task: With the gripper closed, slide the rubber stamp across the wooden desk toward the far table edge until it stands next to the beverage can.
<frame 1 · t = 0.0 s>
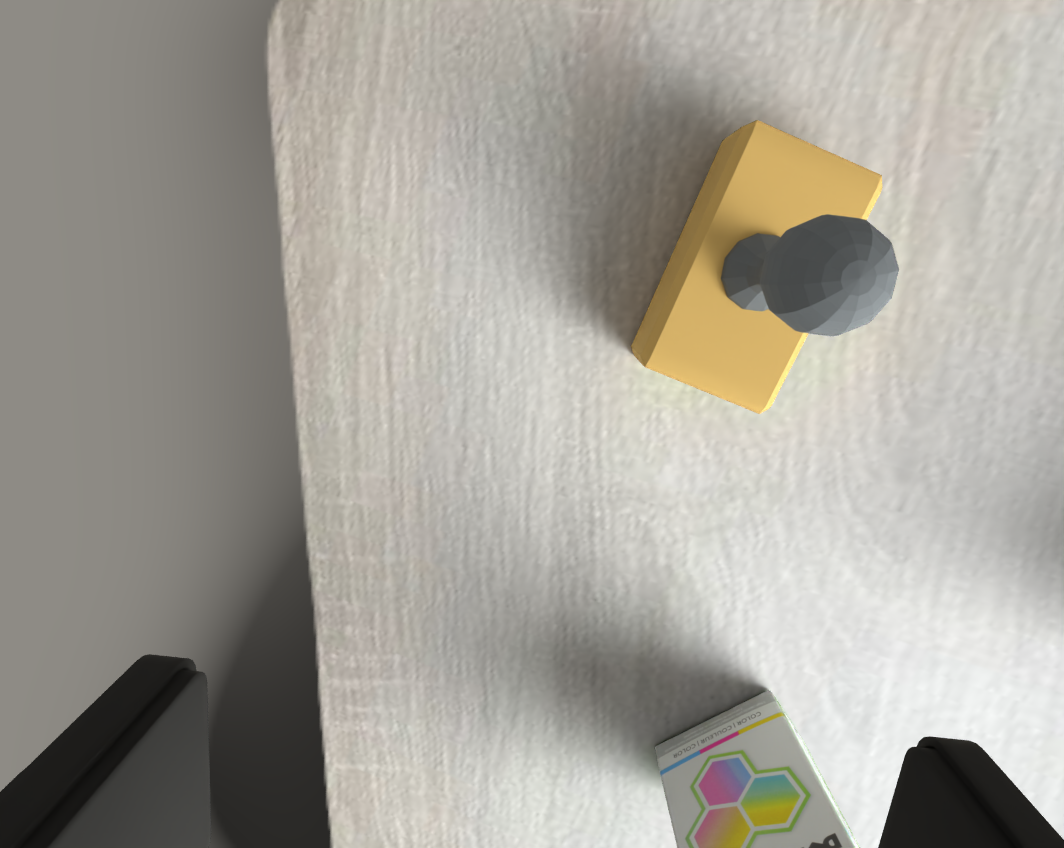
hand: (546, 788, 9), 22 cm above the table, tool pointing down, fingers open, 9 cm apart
rubber stamp: (732, 273, 29), on the table
ink box: (726, 738, 35), on the table
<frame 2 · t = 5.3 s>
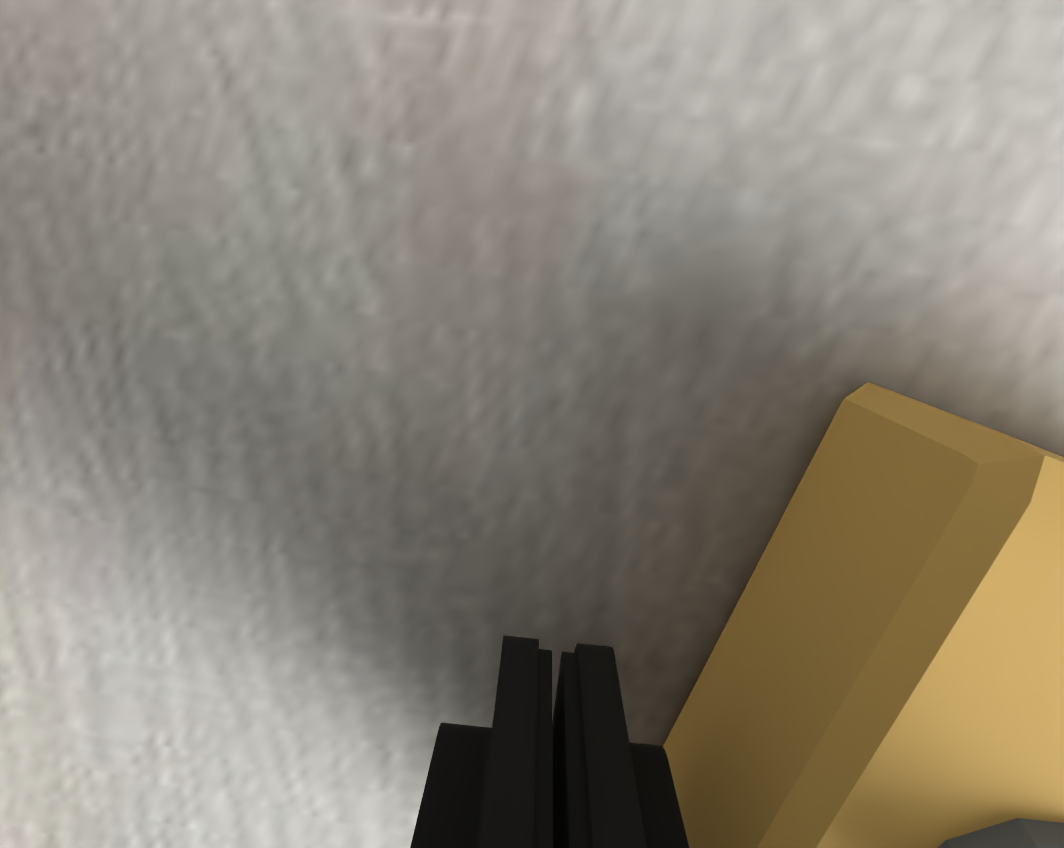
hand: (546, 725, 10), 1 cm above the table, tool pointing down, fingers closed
rubber stamp: (854, 698, 11), on the table, touching gripper
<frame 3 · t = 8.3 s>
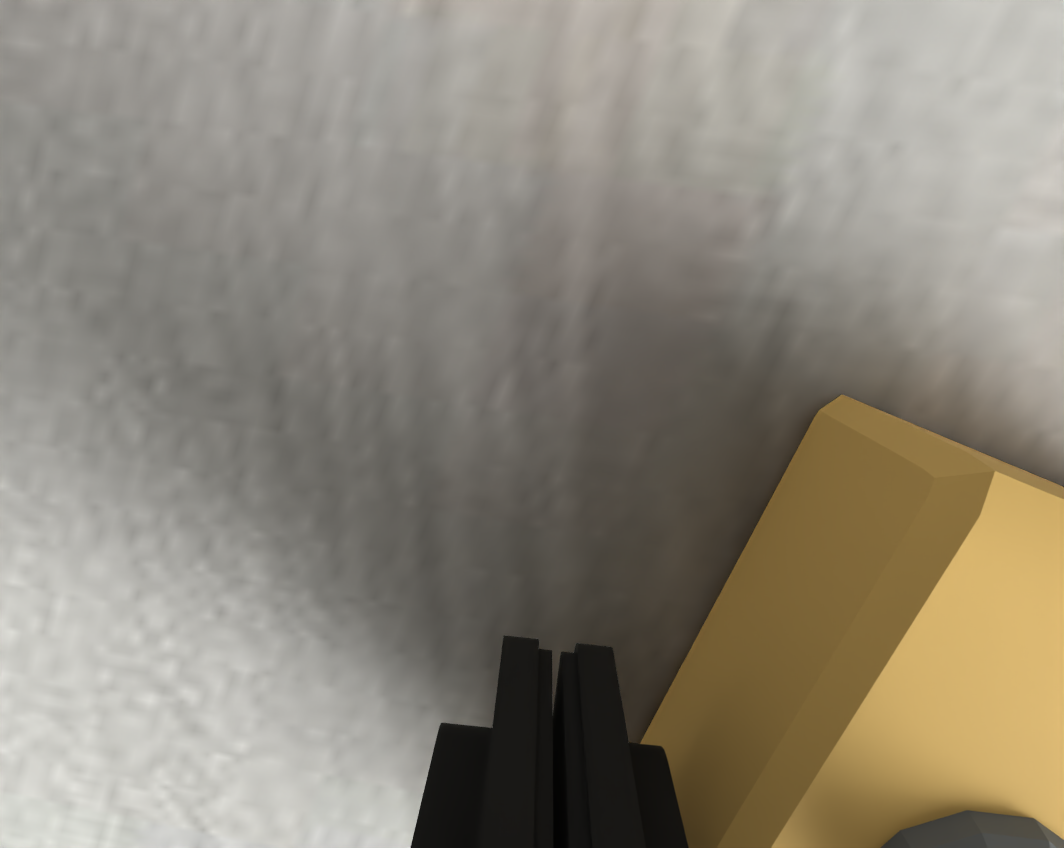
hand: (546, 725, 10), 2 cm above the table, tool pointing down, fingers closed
rubber stamp: (826, 697, 11), on the table, touching gripper
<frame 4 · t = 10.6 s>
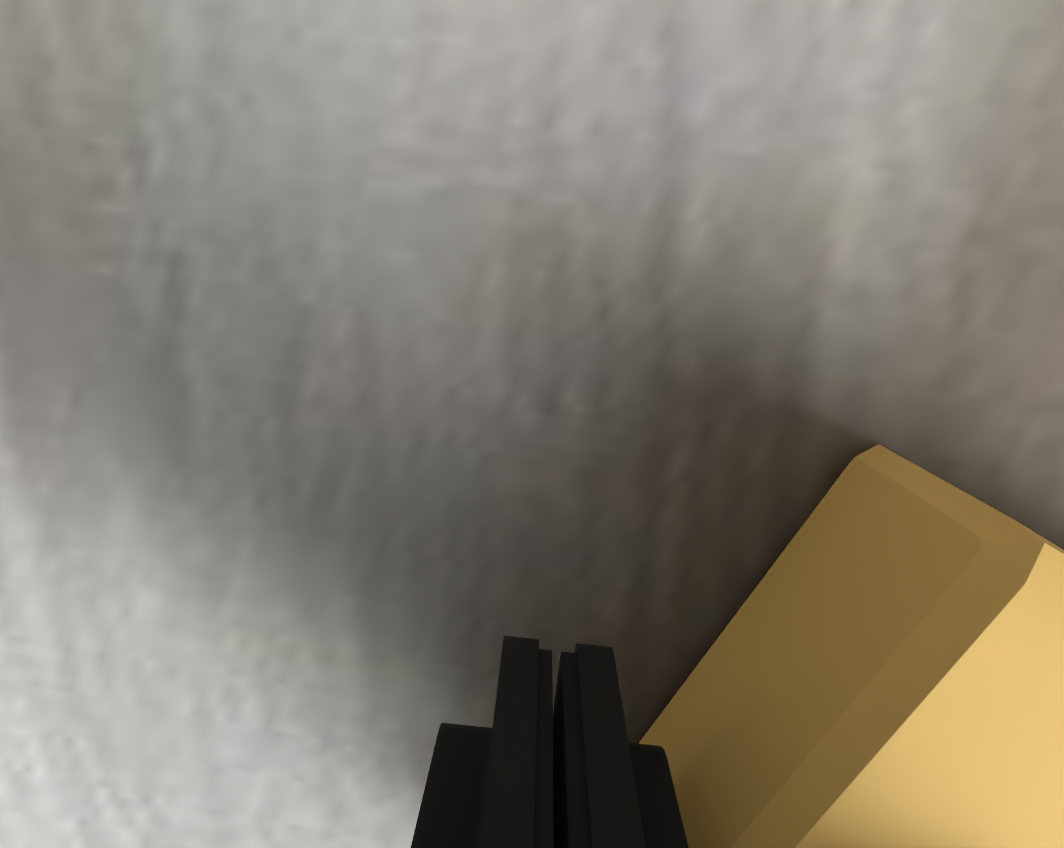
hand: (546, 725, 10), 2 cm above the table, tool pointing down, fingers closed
rubber stamp: (812, 736, 12), on the table, touching gripper
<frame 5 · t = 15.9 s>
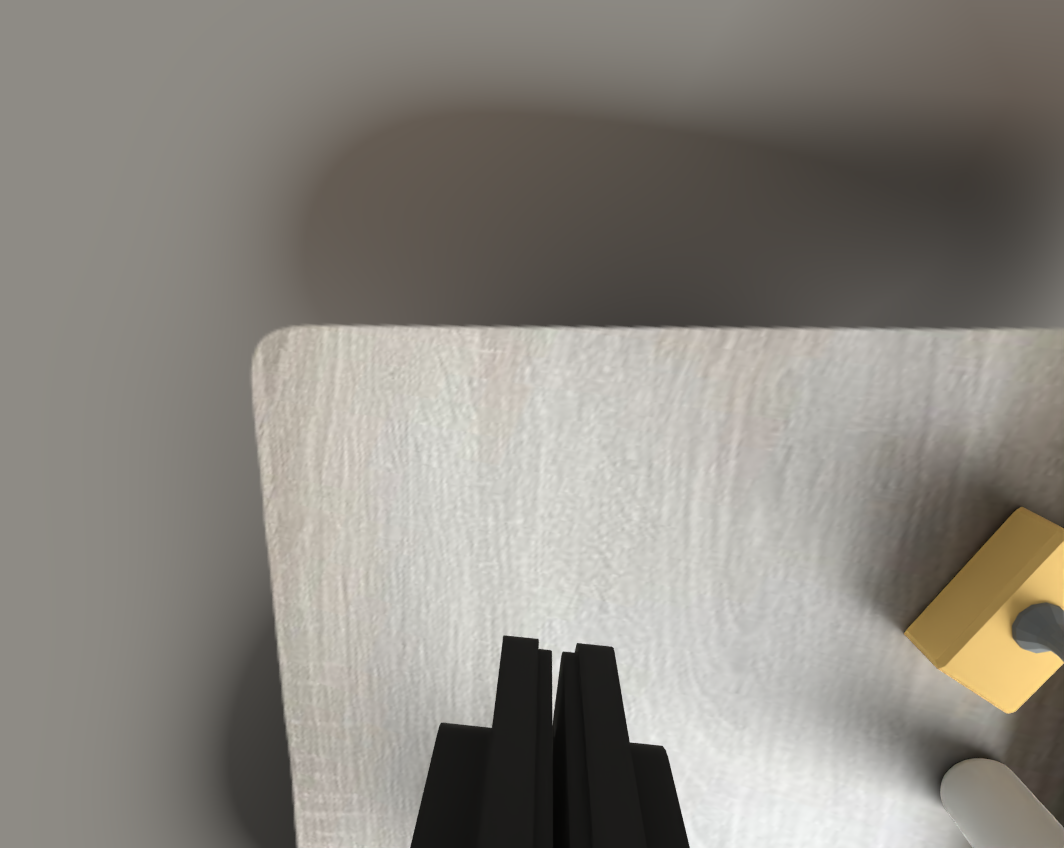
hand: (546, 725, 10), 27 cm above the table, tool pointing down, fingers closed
rubber stamp: (991, 592, 39), on the table
beverage can: (970, 781, 42), on the table
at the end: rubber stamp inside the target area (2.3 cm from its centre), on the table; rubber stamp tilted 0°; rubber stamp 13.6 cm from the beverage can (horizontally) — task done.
